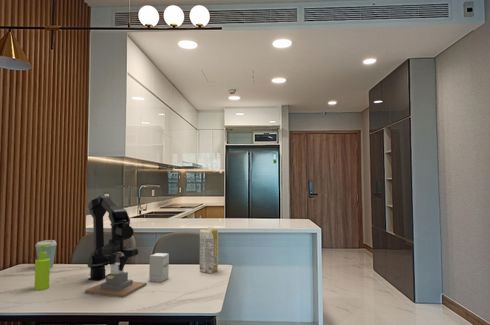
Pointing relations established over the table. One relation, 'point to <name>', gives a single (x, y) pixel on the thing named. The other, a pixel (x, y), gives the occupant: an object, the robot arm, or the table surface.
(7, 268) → the table surface
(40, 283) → the soap dispenser
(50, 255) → the disposable coffee cup
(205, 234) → the juice carton
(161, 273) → the supplement box
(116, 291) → the tan base plate
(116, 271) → the block
